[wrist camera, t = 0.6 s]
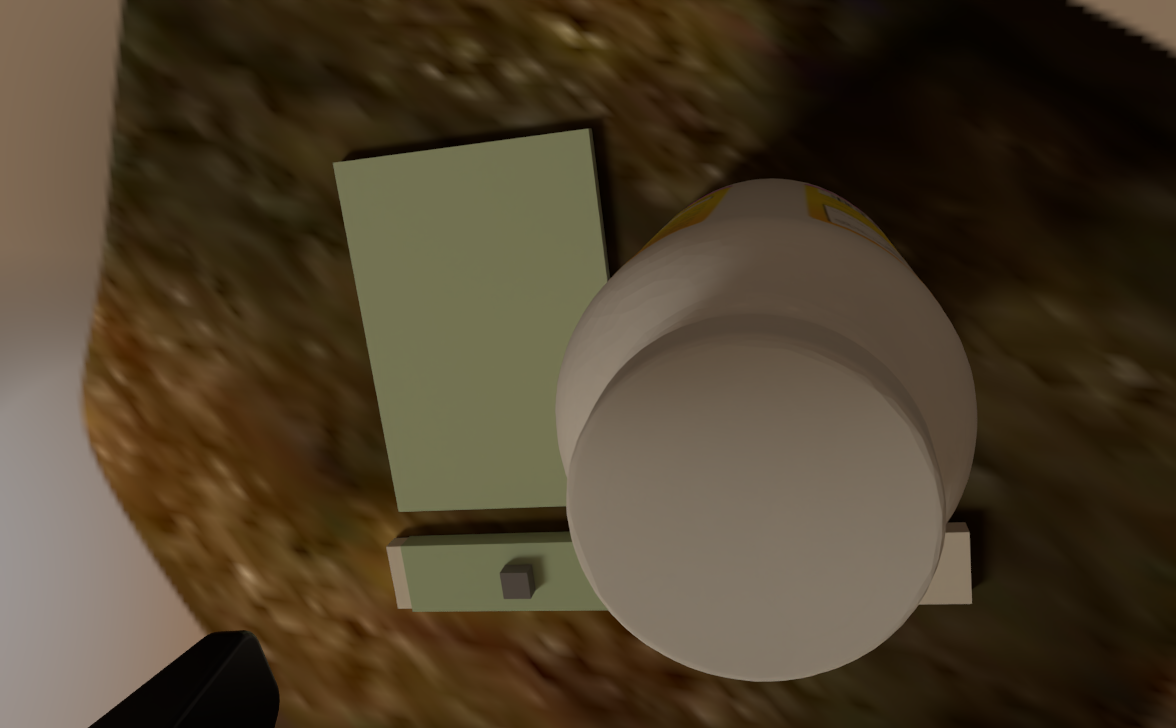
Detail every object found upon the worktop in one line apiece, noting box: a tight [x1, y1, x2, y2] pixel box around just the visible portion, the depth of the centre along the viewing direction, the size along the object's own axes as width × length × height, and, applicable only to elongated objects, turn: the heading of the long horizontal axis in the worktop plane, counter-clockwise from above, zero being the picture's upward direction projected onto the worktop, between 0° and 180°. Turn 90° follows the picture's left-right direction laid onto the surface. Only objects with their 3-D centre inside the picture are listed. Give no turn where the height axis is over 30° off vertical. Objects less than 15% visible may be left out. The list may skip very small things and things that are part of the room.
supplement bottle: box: [555, 178, 977, 681], centre depth 17 cm, size 7×7×13 cm
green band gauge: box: [333, 128, 972, 612], centre depth 24 cm, size 13×16×1 cm
